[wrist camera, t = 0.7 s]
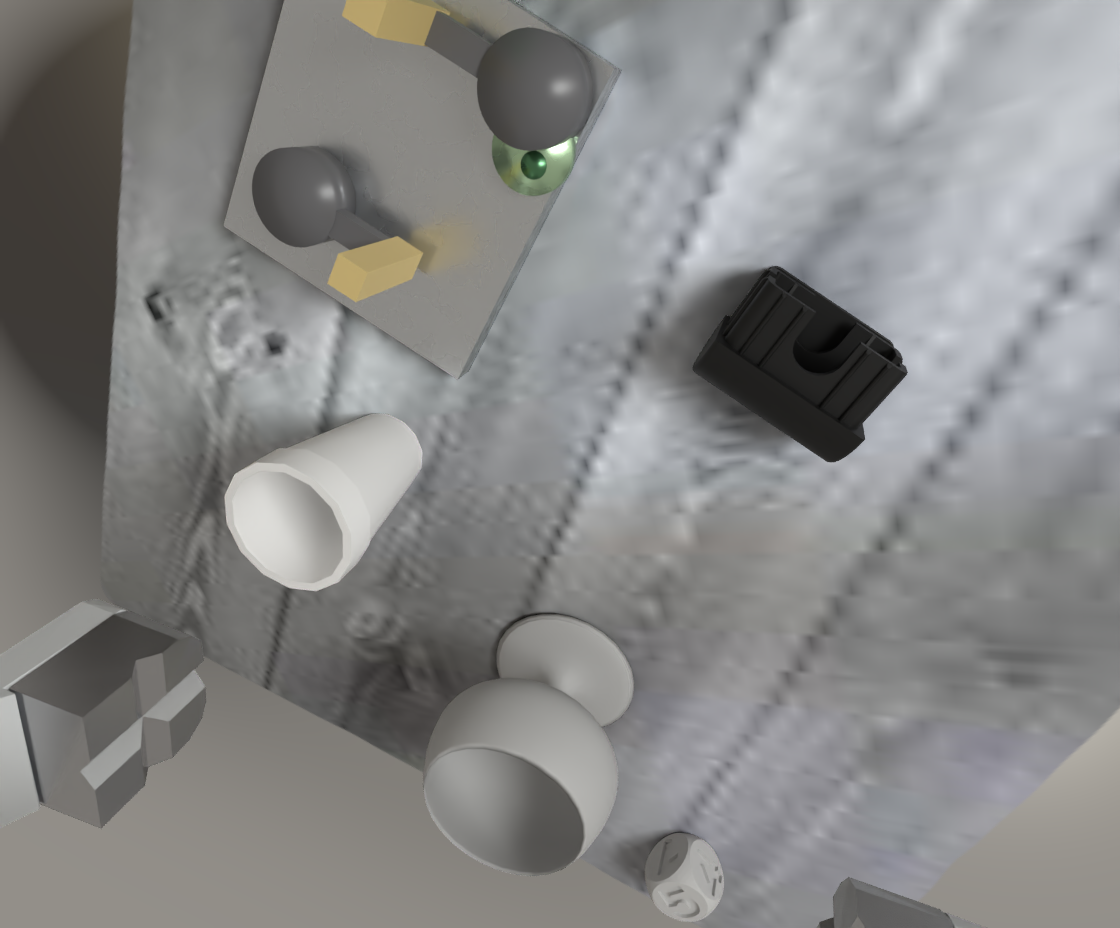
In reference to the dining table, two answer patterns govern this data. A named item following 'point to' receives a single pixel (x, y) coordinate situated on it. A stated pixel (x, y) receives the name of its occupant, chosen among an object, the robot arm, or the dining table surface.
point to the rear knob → (328, 219)
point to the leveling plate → (410, 167)
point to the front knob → (496, 69)
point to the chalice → (531, 748)
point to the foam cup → (321, 500)
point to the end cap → (802, 364)
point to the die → (684, 877)
